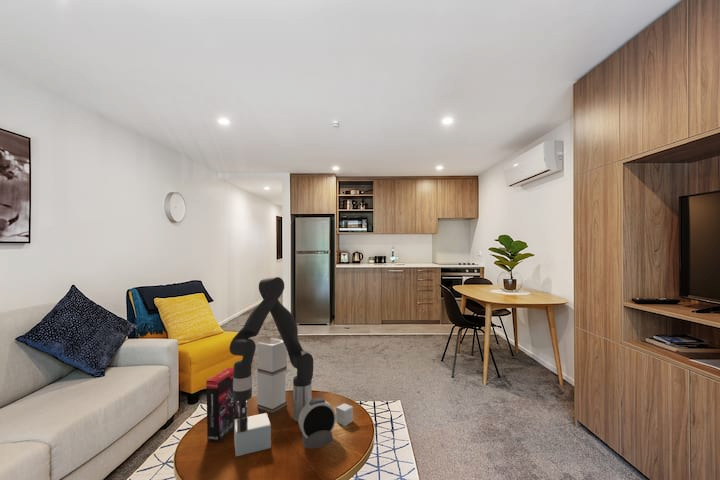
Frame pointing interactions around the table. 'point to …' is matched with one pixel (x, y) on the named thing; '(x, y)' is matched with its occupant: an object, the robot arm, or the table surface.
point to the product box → (344, 414)
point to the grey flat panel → (252, 439)
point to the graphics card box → (220, 405)
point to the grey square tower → (271, 375)
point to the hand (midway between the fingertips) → (242, 426)
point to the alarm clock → (317, 423)
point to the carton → (253, 423)
